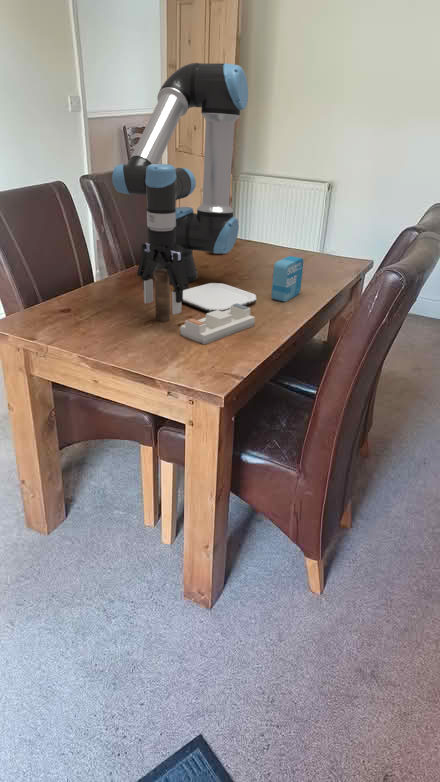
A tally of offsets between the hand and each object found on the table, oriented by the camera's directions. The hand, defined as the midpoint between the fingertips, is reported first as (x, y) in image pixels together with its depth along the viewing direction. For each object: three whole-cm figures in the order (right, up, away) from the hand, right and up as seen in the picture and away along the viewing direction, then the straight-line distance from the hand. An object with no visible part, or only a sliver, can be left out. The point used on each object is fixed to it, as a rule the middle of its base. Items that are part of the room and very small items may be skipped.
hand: (162, 307), depth 159 cm
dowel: (0, -3, +2) cm, 4 cm away
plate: (+15, +4, +18) cm, 23 cm away
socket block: (+16, -7, -4) cm, 17 cm away
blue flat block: (+37, +7, +23) cm, 45 cm away
